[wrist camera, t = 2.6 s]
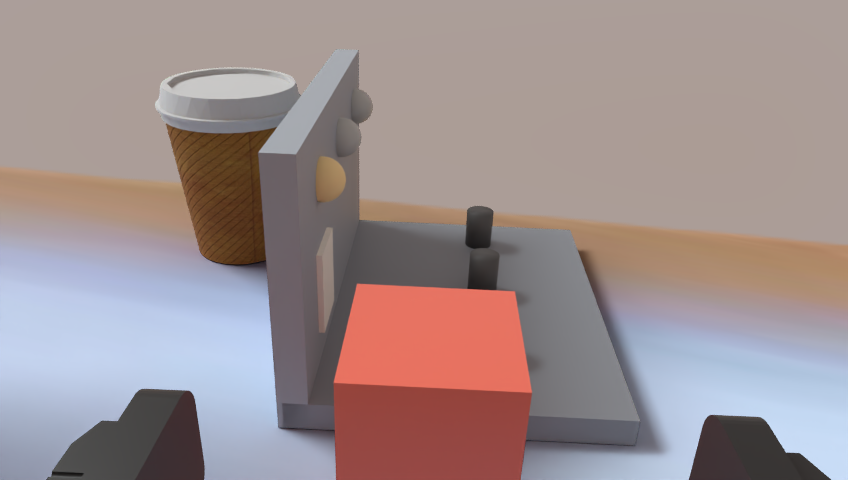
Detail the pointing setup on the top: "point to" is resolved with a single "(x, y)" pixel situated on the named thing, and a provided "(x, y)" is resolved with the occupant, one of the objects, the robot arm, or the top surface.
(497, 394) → the tall coral upright block
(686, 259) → the top surface
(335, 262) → the grey peg stand
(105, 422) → the robot arm
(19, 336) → the top surface
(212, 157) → the disposable coffee cup
